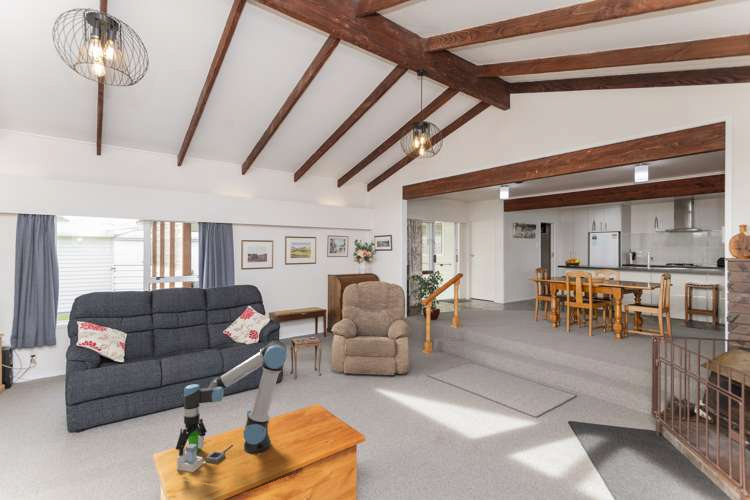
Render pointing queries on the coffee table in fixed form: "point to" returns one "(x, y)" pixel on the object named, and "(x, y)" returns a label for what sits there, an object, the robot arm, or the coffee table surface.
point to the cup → (194, 439)
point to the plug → (191, 453)
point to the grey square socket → (215, 457)
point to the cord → (227, 448)
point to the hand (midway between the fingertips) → (191, 454)
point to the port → (188, 466)
